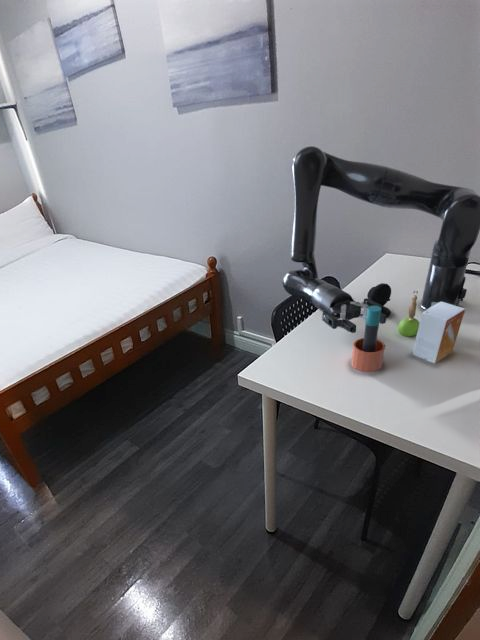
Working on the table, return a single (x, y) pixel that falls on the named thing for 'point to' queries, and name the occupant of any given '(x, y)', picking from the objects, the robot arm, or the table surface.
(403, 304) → the table surface
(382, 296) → the webcam
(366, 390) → the table surface
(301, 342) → the table surface
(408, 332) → the snail figurine
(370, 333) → the marker pen
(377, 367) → the pen cup
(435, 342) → the small box
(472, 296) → the table surface
